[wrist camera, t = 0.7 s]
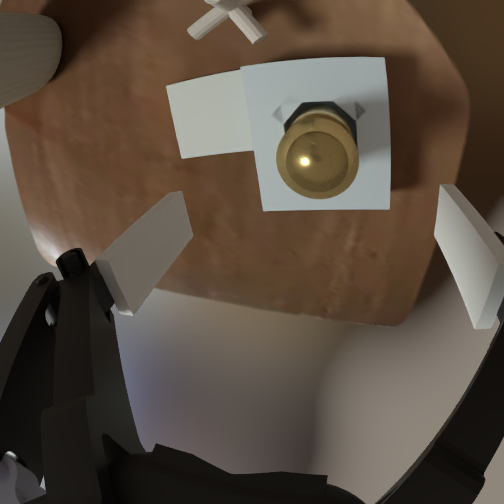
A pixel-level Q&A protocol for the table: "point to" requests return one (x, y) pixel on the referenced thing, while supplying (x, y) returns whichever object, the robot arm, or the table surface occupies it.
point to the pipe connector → (234, 6)
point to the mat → (211, 115)
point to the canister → (27, 54)
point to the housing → (330, 93)
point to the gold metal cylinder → (318, 153)
